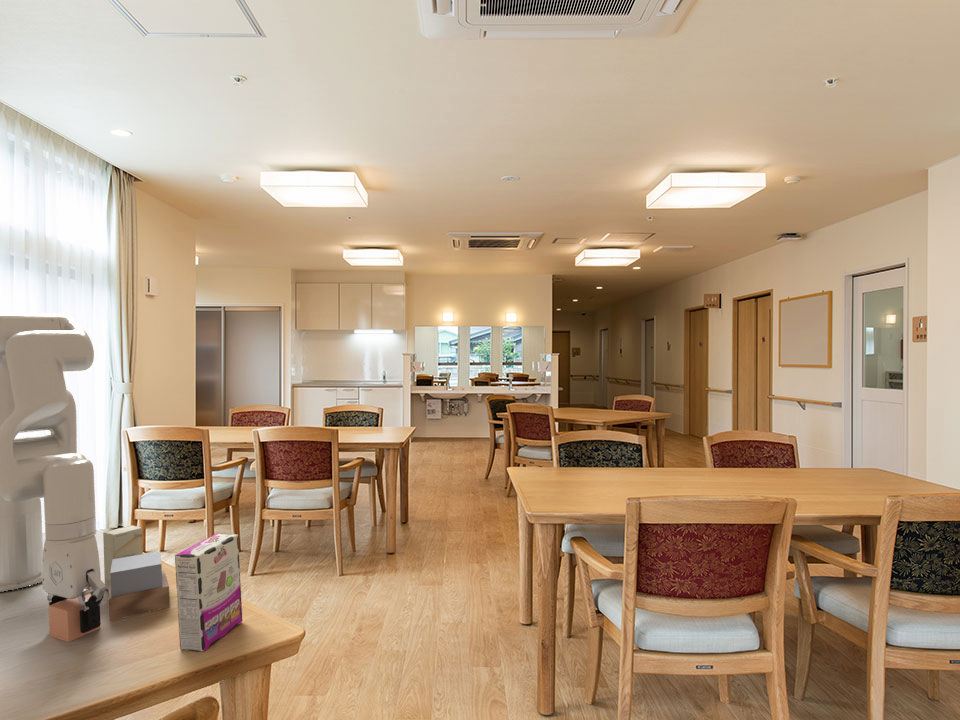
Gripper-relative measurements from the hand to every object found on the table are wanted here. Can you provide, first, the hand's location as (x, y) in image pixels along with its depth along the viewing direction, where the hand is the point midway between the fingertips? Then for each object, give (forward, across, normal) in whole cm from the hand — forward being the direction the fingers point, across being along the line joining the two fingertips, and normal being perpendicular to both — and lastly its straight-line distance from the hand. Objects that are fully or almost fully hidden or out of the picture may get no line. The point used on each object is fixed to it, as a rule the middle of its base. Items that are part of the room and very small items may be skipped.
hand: (75, 624), depth 107 cm
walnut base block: (+2, 0, +12) cm, 12 cm away
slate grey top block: (-3, 0, +12) cm, 12 cm away
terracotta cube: (+1, 0, 0) cm, 1 cm away
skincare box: (+1, -12, +17) cm, 21 cm away
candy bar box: (+2, +24, +9) cm, 26 cm away
